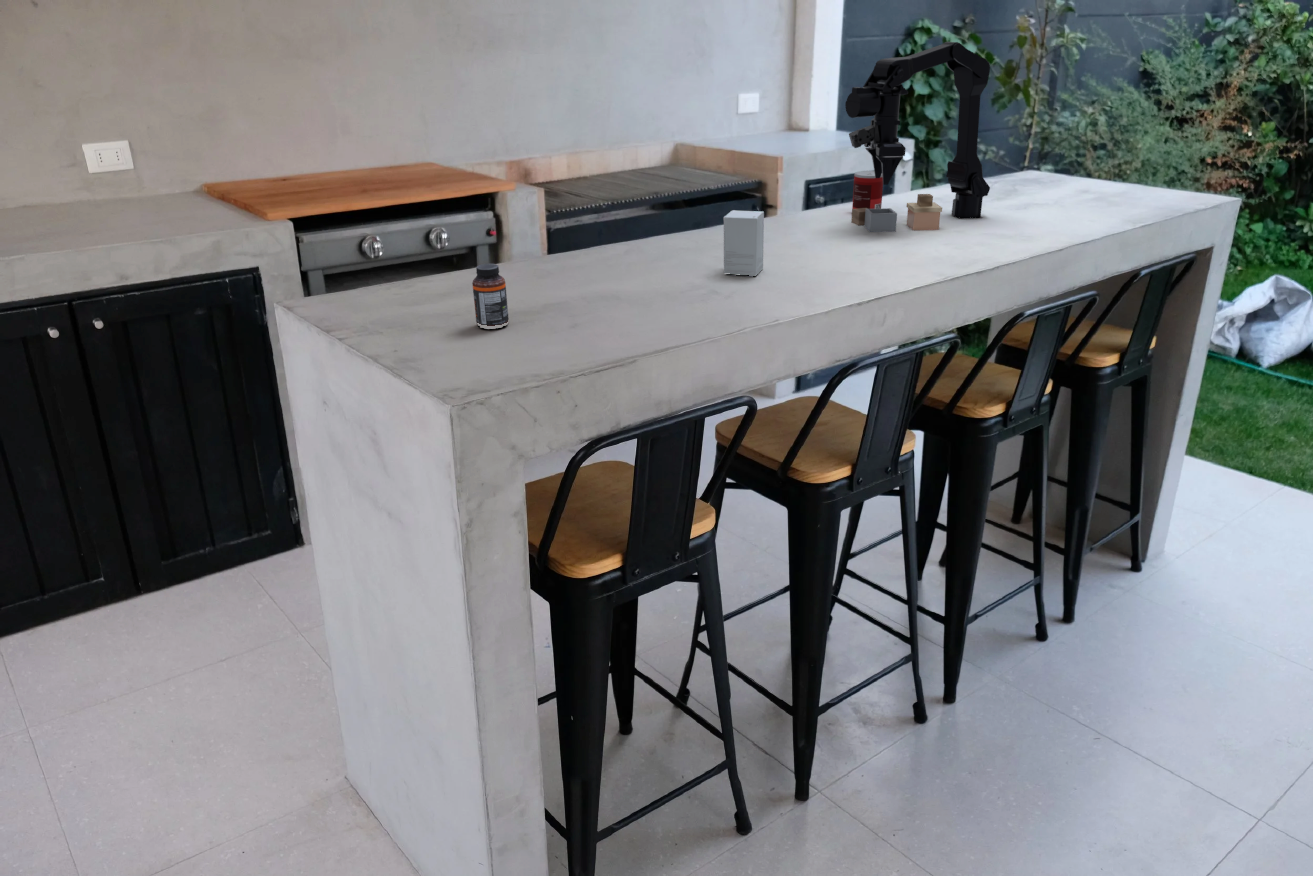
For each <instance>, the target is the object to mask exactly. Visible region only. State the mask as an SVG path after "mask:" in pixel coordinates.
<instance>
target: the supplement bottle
mask: <svg viewBox="0 0 1313 876" xmlns="http://www.w3.org/2000/svg"><path fill="white" fill-rule="evenodd" d="M475 268H476V269H475V270H476V272H475V273H476V276H475V277H474V278H473V280H472V291H473V292H472V293H473V294H472V295H473V301H474V312H475V322H476V324H477V323H479V324H481V325H487V326H495V325H502V324H504V323H507V322H508V320H510V319H509V318H510V317H509V309H508V307H509V306H508V300H507V299H508V298H507V286H506V285H507V284H506V280H505V278H504V277H503V276H502V275H500V269H499V265H498V264H495V263H482V264H479V265H477V266H476V267H475Z"/></svg>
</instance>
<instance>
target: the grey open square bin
mask: <svg viewBox="0 0 1313 876" xmlns="http://www.w3.org/2000/svg"><path fill="white" fill-rule="evenodd" d="M897 219H898V213H897V212H896V211H894V209H892V208H891V207H889V208H887V207H886V208H884V207H883V208H881V209H866V210H865V224H864V225H863V226H864V228H865V229H866V230H867V231H869V233H889V232H890V233H891V232H894V233H895V232H896V231H897V221H898V220H897Z"/></svg>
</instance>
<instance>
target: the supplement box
mask: <svg viewBox="0 0 1313 876" xmlns="http://www.w3.org/2000/svg"><path fill="white" fill-rule="evenodd" d="M722 219H723V274H724V273H730V274H740V275H749V276H748V277H753V276H756V275H757V274H758V273H759V272H760V271H761V270H762V271H763V269H764V238H765V236H764V235H765V233H764V232H765V231H764V230H765V229H764V228H765V223H764V222H765V212H764V211H757V210H756V211H754V210H735V209H733V210H730V212H728V213H727V214H726V215H724V216H723V218H722ZM762 271H761V272H762ZM761 272H760V273H761ZM760 273H759V274H760ZM759 274H758V275H759ZM758 275H757V276H758ZM757 276H756V277H757Z"/></svg>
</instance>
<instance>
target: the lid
mask: <svg viewBox="0 0 1313 876" xmlns="http://www.w3.org/2000/svg"><path fill="white" fill-rule="evenodd" d="M933 200H934V195H933V194H930V193H917V199H916V202H906V208H907V209H908V208H909V209H910V210H911V211H913V212H940V213H942V212H943V207H942V206H941V205H940V204H938V203H936V202H935V201H933Z"/></svg>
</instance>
